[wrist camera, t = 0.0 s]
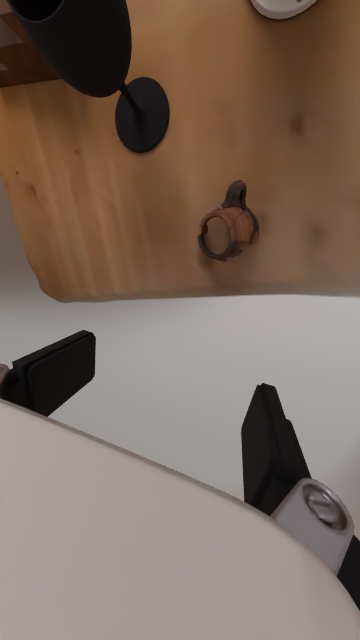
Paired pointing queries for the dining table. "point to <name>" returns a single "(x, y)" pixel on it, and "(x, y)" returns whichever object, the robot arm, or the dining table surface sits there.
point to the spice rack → (19, 53)
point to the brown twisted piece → (232, 222)
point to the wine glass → (97, 60)
